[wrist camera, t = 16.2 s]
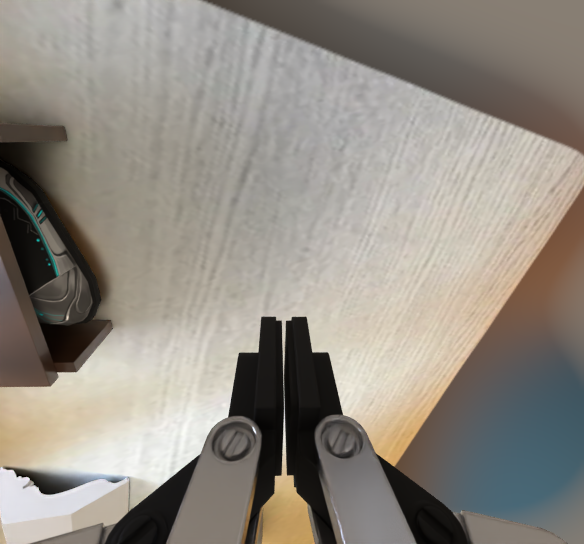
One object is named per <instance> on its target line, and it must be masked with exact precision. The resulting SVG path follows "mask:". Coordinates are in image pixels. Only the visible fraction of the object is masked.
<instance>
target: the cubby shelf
mask: <svg viewBox="0 0 584 544" xmlns="http://www.w3.org/2000/svg"><path fill="white" fill-rule="evenodd" d="M41 141H67V136H66V132H65V128H64V126H51V125H32V124H12V123H0V142H41ZM112 329H113V327H112V323H111V320H90V321H89V322H87V323H82V324H75V323H74V324H71V325H68V326H67V325H56V324H44V323H39V321H38V319H37V316H36V313H35V310H34V307H33V305H32V302H31V299H30V296H29V294H28V291H27V288H26V285H25V282H24V280H23V277H22V274H21V271H20V268H19V266H18V263H17V260H16V257H15V255H14V252H13V249H12V246H11V243H10V241H9V238H8V235H7V232H6V229H5V227H4V224H3V221H2V218H1V215H0V387H47V386H51V385H52V384H53V383H54V382H55V381H56V380H57V379H58V374H57V372H77V371H78V370H79V369H80V368H81V366H82V365H83V364H84V363H85V362H86V360H87V359H88V358H89V357H90V356H91V354H92V353H93V352H94V351H95V350H96V348H97V347H98V346H99V345H100V344H101V342H102V341H103V340H104V339H105V338H106V336H107V335H108V334H109V333H110V331H111V330H112Z"/></svg>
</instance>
